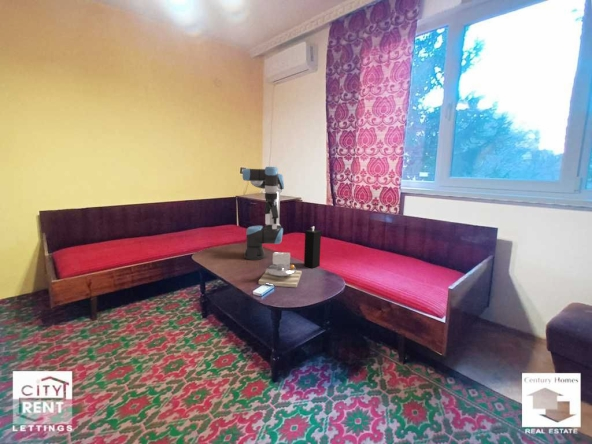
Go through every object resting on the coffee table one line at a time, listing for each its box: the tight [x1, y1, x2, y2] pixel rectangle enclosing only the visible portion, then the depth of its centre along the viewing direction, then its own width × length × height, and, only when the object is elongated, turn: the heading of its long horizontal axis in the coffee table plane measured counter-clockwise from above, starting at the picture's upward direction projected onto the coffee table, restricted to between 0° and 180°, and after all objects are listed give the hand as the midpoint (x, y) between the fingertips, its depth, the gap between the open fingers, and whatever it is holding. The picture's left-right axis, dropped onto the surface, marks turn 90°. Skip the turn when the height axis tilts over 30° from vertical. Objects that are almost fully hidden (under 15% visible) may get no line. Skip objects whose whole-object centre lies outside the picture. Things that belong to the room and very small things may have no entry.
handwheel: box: [265, 251, 297, 276], centre depth 175 cm, size 18×18×11 cm
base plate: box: [258, 269, 302, 288], centre depth 177 cm, size 22×22×5 cm
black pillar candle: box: [303, 225, 322, 269], centre depth 200 cm, size 8×8×28 cm
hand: (270, 226), depth 182 cm, fingers open, 13 cm apart
